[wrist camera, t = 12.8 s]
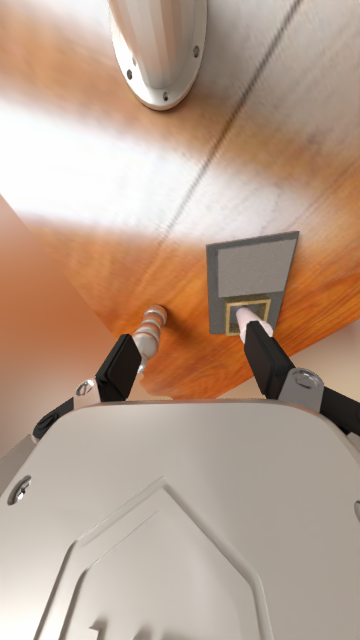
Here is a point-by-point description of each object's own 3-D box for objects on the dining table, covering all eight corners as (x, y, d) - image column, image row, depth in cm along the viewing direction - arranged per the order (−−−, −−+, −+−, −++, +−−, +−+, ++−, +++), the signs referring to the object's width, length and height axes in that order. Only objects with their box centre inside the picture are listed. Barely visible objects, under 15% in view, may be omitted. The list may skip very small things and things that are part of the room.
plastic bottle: (165, 300, 40) (145, 351, 23) (170, 320, 43) (156, 377, 27) (144, 303, 41) (110, 354, 24) (150, 323, 45) (125, 378, 28)
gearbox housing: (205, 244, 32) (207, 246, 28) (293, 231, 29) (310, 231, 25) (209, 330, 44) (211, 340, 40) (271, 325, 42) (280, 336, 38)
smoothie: (236, 300, 36) (257, 333, 24) (260, 305, 37) (293, 340, 25) (227, 320, 40) (242, 358, 28) (249, 325, 40) (273, 364, 28)
